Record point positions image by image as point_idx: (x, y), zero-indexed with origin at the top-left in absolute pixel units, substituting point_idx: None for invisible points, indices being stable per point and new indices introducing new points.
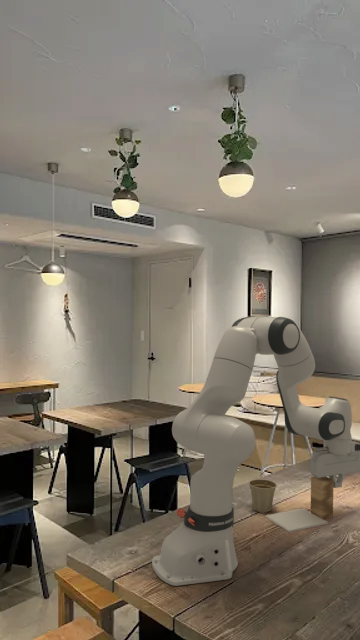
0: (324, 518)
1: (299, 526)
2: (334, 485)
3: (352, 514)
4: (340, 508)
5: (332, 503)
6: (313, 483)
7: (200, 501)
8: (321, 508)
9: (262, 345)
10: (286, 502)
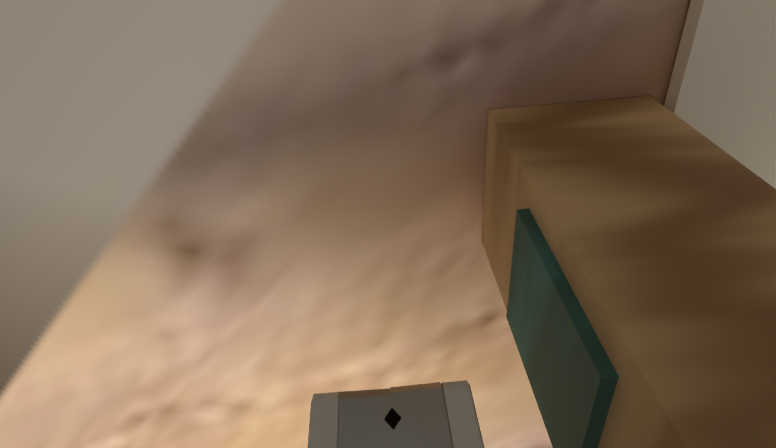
0: (604, 100)
1: None
2: (473, 423)
3: (242, 95)
4: (277, 244)
5: (545, 178)
6: None
7: None
8: (713, 145)
9: None
10: None
